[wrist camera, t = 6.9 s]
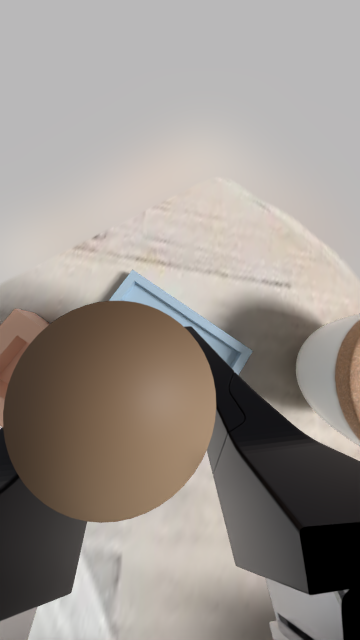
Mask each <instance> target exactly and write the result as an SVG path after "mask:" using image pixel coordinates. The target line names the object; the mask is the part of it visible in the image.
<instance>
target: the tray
mask: <svg viewBox="0 0 360 640" xmlns="http://www.w3.org/2000/svg"><path fill="white" fill-rule="evenodd" d="M109 301H130V302H137V303H141V304H145V305H148V306H151V307H153V308H156V309H158V310H160V311H162V312H164V313H166V314H168V315H169V316H171V317H172V318H174V319H175V320H176V321H178V322H179V323H180V324H181V325H182V326H183V327H185V326H192V327H193V328H194V329H195V330H196V331H197V332H198V334H199V335H200V336H201V337H202V338H203V339H204V340H205V341H206V342H207V343H208V344H209V345H210V346H211V347H212V348H213V349H214V350H215V351H216V352H217V353H218V354H219V356H220V357H221V358H222V359H223V360H224V361H225V362H226V363H227V364H228V365H229V366H230V367H231V368H232V369H233V370H234V372H236V373H237V374H238V375H239V373H240V372H241V370H242V368H243V367H244V365H245V363H246V362H247V360H248V358H249V357H250V355H251V353H252V352H253V351H252V350H251V349H249V348H248V347H246V346H245V345H243V344H242V343H240V342H239V341H237V340H236V339H234V338H233V337H231V336H230V335H228V334H227V333H226V332H224V331H223V330H221V329H220V328H218V327H217V326H215V325H214V324H212V323H211V322H209V321H208V320H206V319H205V318H203V317H202V316H200V315H199V314H197V313H196V312H194V311H193V310H191V309H190V308H189V307H187V306H186V305H184V304H183V303H181V302H180V301H178V300H177V299H175V298H174V297H172V296H171V295H169V294H168V293H166V292H165V291H163V290H162V289H160V288H159V287H157V286H156V285H154V284H153V283H152V282H150V281H149V280H147V279H146V278H144V277H143V276H141V275H140V274H138V273H137V272H135V271H134V270H132V271H131V272H130V274H129V275H128V276H127V278H126V279H125V280H124V282H123V283H122V284H121V285H120V287H119V288H118V289H117V291H116V292H115V293H114V295H113V296H112V297H111V298H110V300H109Z"/></svg>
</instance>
